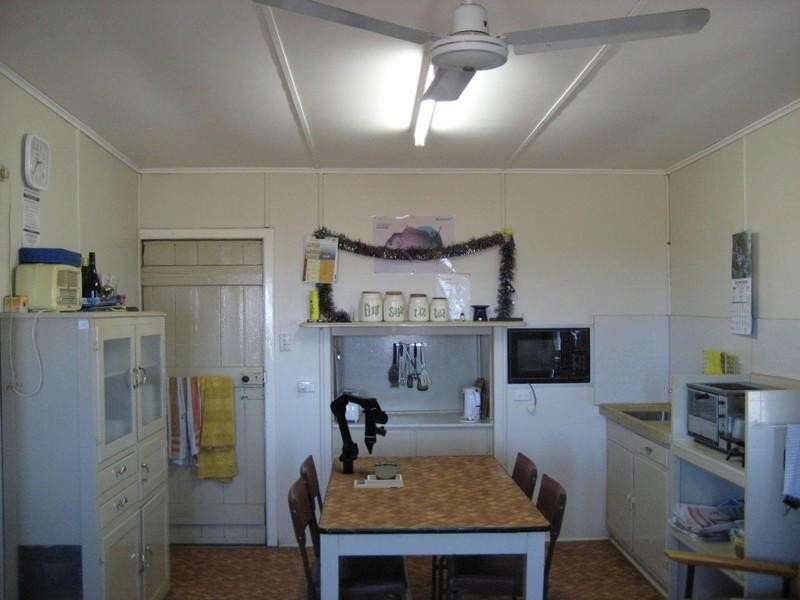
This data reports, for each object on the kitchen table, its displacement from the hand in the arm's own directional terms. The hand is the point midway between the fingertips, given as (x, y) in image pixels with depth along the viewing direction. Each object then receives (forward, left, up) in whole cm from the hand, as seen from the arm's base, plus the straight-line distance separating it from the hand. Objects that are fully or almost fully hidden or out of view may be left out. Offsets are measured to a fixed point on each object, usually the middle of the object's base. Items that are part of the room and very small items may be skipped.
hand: (370, 452), depth 334 cm
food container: (+12, +8, -12) cm, 19 cm away
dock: (+14, +4, -13) cm, 20 cm away
